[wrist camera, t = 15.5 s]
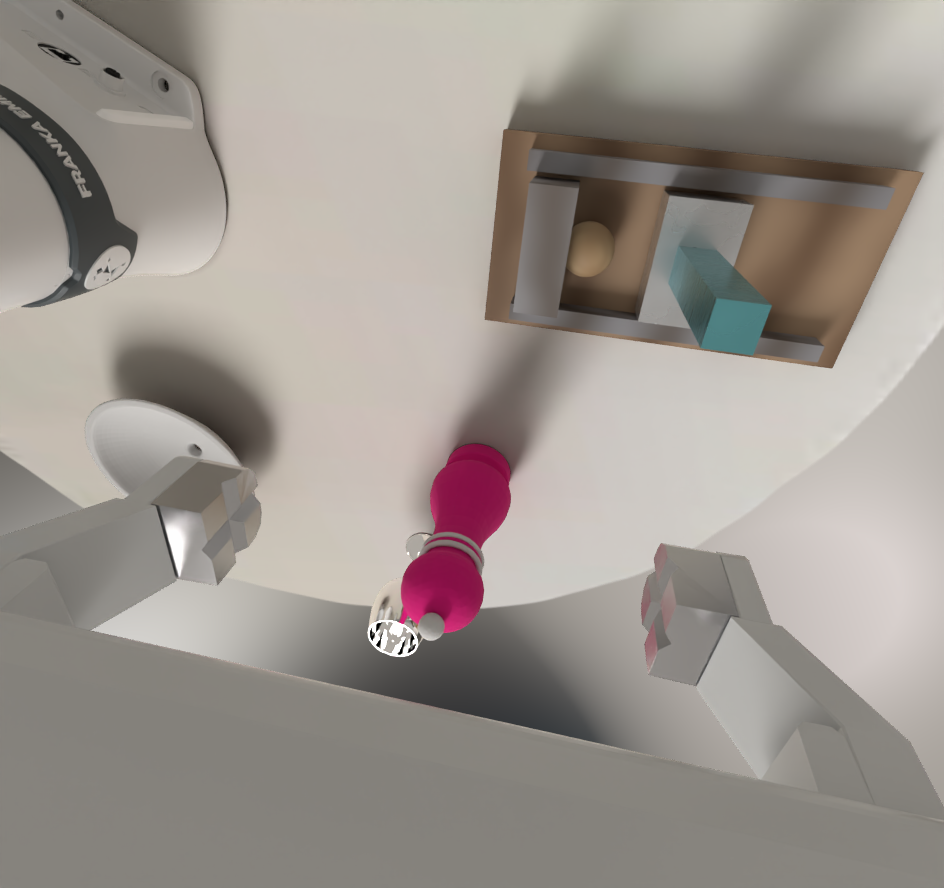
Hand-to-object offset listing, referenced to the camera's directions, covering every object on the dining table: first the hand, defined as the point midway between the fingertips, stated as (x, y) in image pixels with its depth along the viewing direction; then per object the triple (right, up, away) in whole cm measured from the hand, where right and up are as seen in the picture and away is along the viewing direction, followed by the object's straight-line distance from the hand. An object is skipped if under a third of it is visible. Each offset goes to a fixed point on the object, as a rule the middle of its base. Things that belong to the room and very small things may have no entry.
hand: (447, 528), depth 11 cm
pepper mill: (+1, -1, +42) cm, 42 cm away
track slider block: (+15, +15, +27) cm, 34 cm away
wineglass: (-4, -10, +49) cm, 50 cm away
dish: (-28, +2, +47) cm, 55 cm away
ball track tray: (+15, +16, +29) cm, 36 cm away
